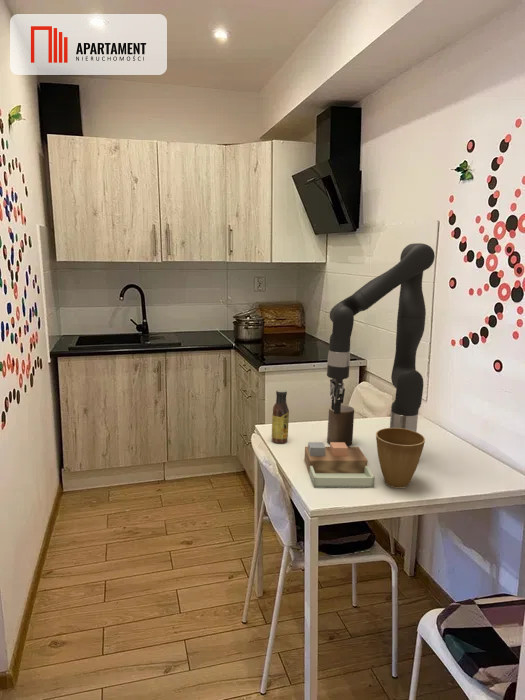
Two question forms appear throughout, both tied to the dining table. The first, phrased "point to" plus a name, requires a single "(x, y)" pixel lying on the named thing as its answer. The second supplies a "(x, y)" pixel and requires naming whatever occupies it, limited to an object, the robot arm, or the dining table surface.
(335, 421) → the pillar candle
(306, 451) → the brown wooden block
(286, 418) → the sauce bottle
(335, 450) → the pink square block
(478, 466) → the dining table surface
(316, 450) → the grey block
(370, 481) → the sage tray
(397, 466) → the plant pot
